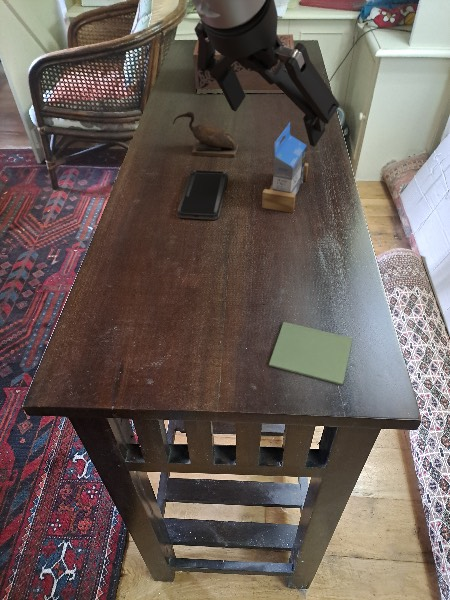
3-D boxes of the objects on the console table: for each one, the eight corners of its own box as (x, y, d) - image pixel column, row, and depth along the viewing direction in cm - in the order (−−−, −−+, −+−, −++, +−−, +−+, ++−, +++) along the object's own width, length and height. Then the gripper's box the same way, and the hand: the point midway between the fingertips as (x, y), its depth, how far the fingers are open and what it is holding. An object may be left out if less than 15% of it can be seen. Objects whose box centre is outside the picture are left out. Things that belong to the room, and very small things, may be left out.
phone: (228, 171, 94) (217, 215, 84) (228, 176, 95) (218, 220, 85) (190, 170, 95) (175, 213, 85) (191, 175, 96) (176, 217, 86)
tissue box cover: (196, 94, 124) (193, 54, 116) (201, 73, 133) (198, 35, 126) (292, 93, 122) (295, 53, 115) (289, 72, 132) (292, 34, 125)
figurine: (173, 154, 102) (168, 116, 96) (178, 144, 105) (174, 106, 99) (235, 157, 100) (234, 119, 94) (238, 147, 103) (238, 109, 97)
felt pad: (351, 339, 65) (352, 337, 65) (342, 385, 60) (343, 383, 60) (283, 323, 67) (283, 321, 67) (268, 366, 62) (268, 364, 62)
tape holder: (307, 178, 94) (308, 163, 91) (292, 213, 86) (294, 197, 83) (278, 174, 95) (279, 158, 93) (262, 207, 87) (262, 192, 85)
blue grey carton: (290, 207, 87) (295, 147, 78) (270, 203, 88) (273, 143, 79) (303, 183, 93) (310, 124, 84) (285, 179, 94) (289, 121, 85)
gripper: (124, -2, 50) (195, 110, 70) (321, 72, 41) (339, 177, 61) (161, -60, 50) (222, 69, 69) (367, 1, 41) (369, 129, 60)
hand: (276, 119), depth 65 cm, fingers open, 13 cm apart
